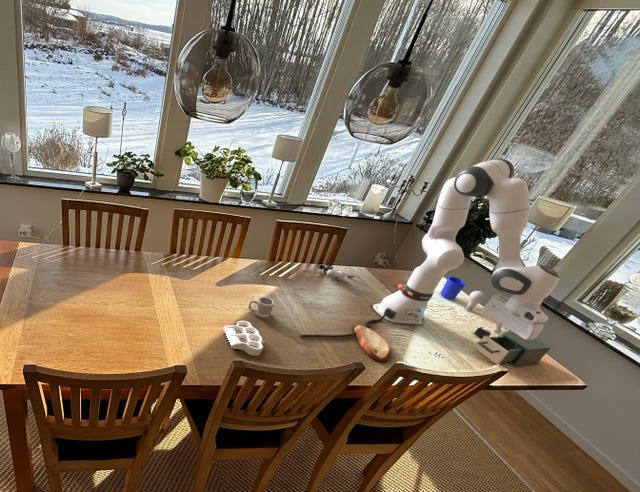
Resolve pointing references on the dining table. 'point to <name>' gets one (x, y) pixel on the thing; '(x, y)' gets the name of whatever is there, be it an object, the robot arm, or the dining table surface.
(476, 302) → the lightbulb
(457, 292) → the mug
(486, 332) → the binder clip
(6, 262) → the dining table surface
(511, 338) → the cabinet
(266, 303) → the mug
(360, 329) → the bread slice
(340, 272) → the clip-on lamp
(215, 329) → the dining table surface
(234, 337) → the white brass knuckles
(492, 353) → the drawer
